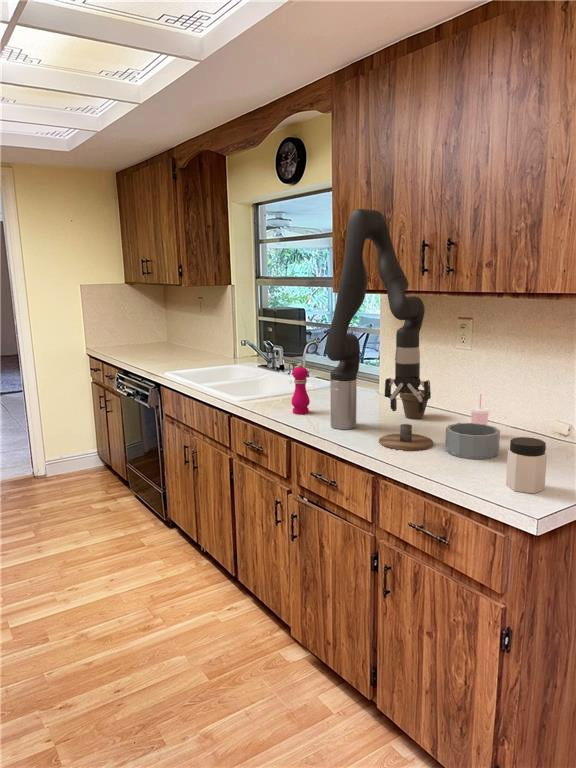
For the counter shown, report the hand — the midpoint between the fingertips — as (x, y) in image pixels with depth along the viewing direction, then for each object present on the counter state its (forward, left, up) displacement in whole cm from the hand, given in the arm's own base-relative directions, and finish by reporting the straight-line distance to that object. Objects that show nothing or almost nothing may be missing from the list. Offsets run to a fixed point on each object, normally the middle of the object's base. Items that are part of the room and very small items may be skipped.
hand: (407, 411), depth 180 cm
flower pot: (-34, +10, -11) cm, 37 cm away
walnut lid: (0, 0, -11) cm, 11 cm away
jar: (+40, +22, -11) cm, 47 cm away
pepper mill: (-44, -33, -11) cm, 56 cm away
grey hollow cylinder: (+10, +18, -10) cm, 23 cm away
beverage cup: (-8, +26, -11) cm, 29 cm away
